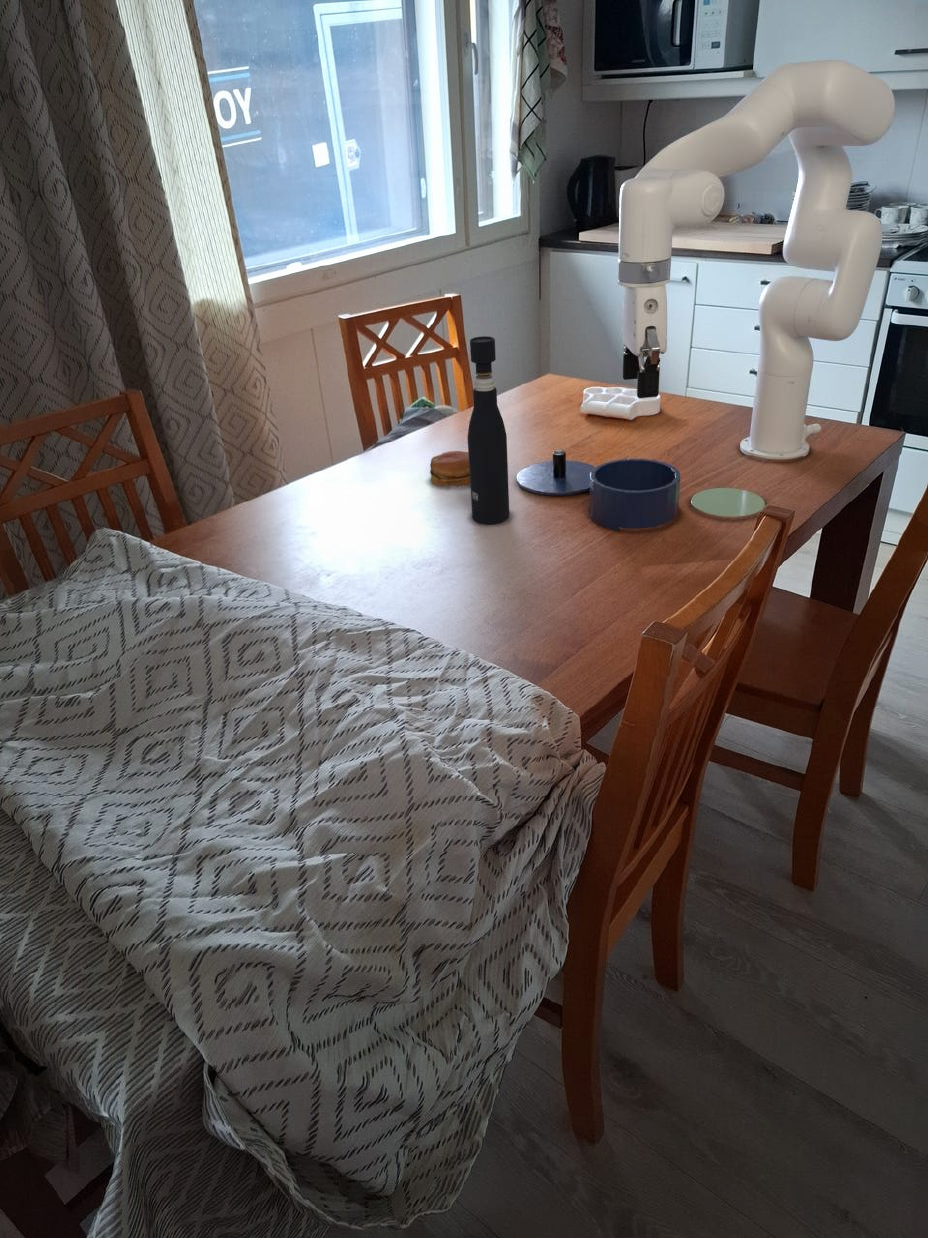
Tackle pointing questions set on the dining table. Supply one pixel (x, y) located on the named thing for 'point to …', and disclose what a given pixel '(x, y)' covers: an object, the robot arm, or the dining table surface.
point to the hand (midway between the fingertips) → (639, 387)
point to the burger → (450, 469)
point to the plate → (728, 502)
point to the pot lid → (556, 476)
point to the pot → (634, 494)
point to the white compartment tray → (618, 403)
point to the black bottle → (487, 441)
